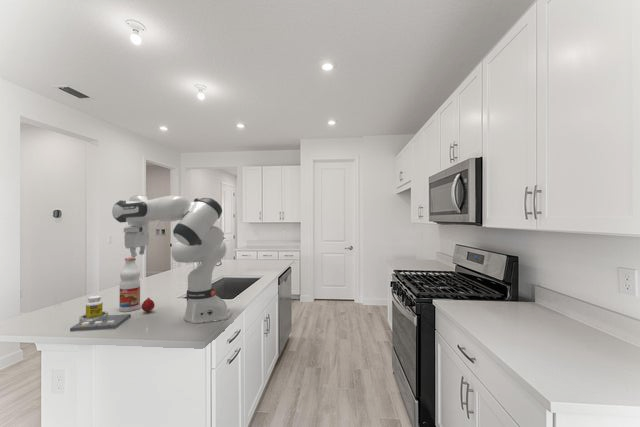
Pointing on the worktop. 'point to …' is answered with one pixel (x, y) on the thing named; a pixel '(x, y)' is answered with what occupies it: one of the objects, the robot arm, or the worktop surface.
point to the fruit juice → (129, 286)
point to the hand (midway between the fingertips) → (137, 255)
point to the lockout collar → (93, 320)
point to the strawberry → (148, 305)
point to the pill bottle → (94, 307)
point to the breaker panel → (102, 323)
